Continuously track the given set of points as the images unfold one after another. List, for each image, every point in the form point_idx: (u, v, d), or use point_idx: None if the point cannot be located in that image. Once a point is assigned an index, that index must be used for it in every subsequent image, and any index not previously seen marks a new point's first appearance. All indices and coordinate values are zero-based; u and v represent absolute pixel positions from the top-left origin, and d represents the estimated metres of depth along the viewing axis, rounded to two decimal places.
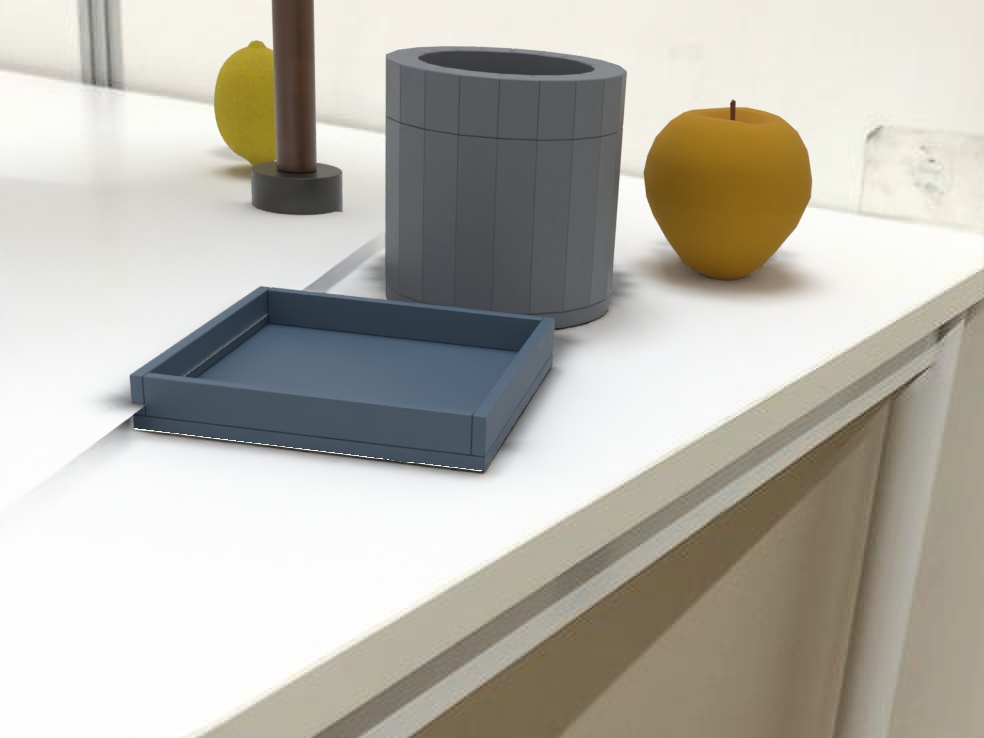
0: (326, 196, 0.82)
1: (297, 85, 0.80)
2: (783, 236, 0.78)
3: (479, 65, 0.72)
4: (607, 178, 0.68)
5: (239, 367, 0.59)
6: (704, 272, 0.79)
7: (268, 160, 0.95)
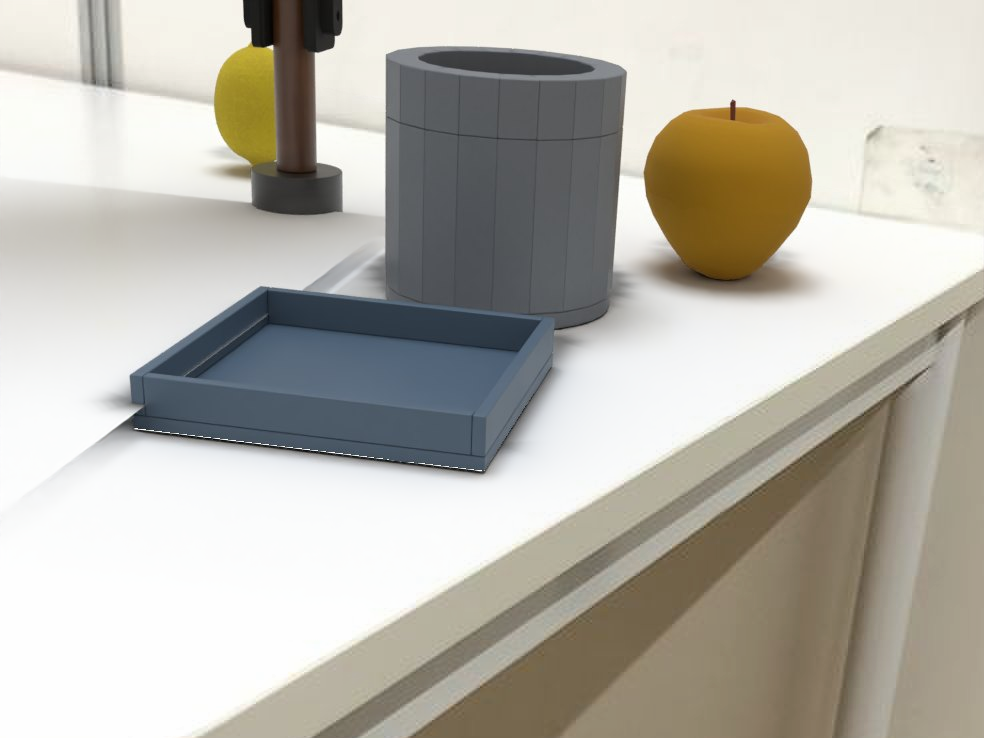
0: (326, 196, 0.82)
1: (297, 85, 0.80)
2: (783, 236, 0.78)
3: (479, 65, 0.72)
4: (607, 178, 0.68)
5: (239, 367, 0.59)
6: (704, 272, 0.79)
7: (268, 160, 0.95)
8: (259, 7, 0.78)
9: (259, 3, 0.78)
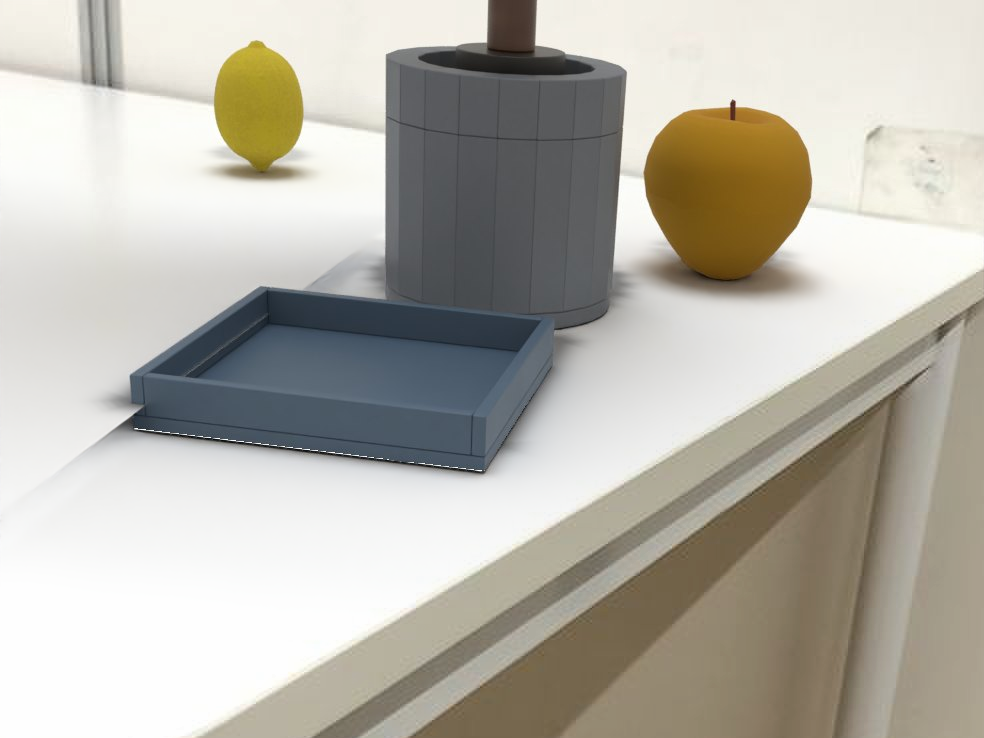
0: None
1: None
2: (783, 236, 0.78)
3: None
4: (607, 178, 0.68)
5: (239, 367, 0.59)
6: (704, 272, 0.79)
7: (268, 160, 0.95)
8: None
9: None
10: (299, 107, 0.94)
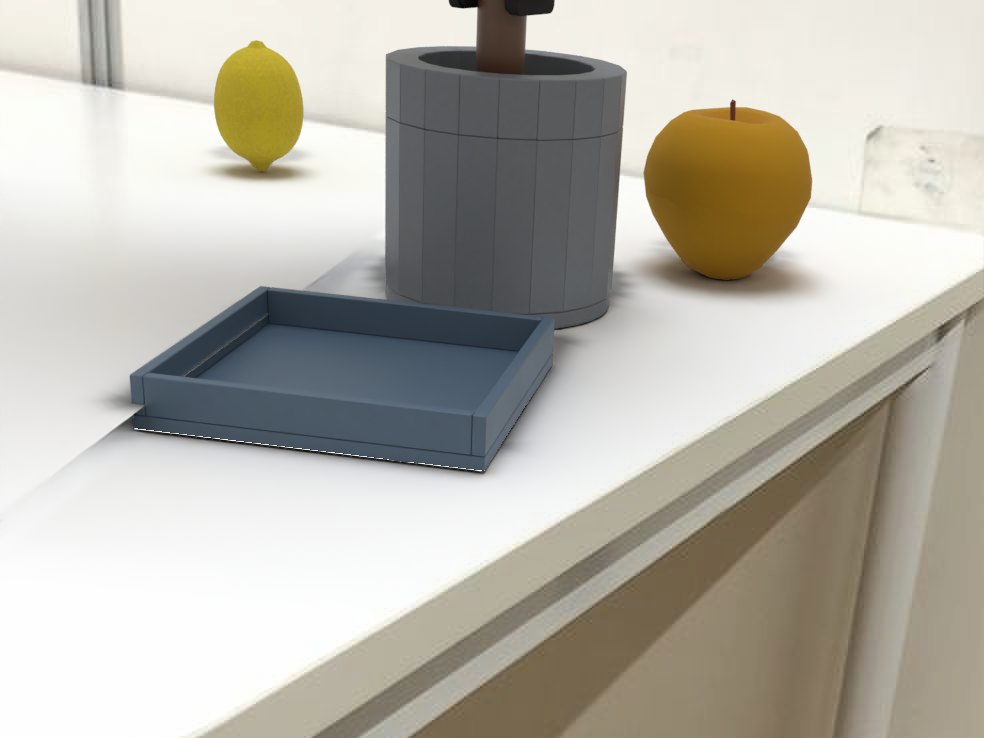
0: None
1: (498, 55, 0.66)
2: (783, 236, 0.78)
3: None
4: (607, 178, 0.68)
5: (239, 367, 0.59)
6: (704, 272, 0.79)
7: (268, 160, 0.95)
8: None
9: None
10: (299, 107, 0.94)
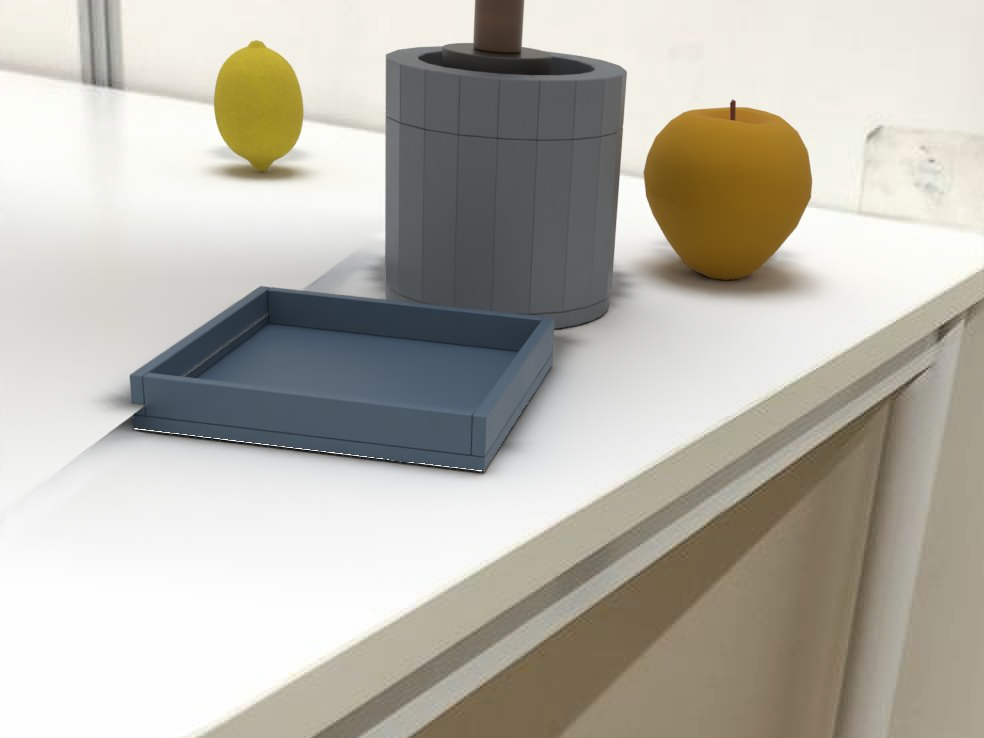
0: None
1: None
2: (783, 236, 0.78)
3: None
4: (607, 178, 0.68)
5: (239, 367, 0.59)
6: (704, 272, 0.79)
7: (268, 160, 0.95)
8: None
9: None
10: (299, 107, 0.94)
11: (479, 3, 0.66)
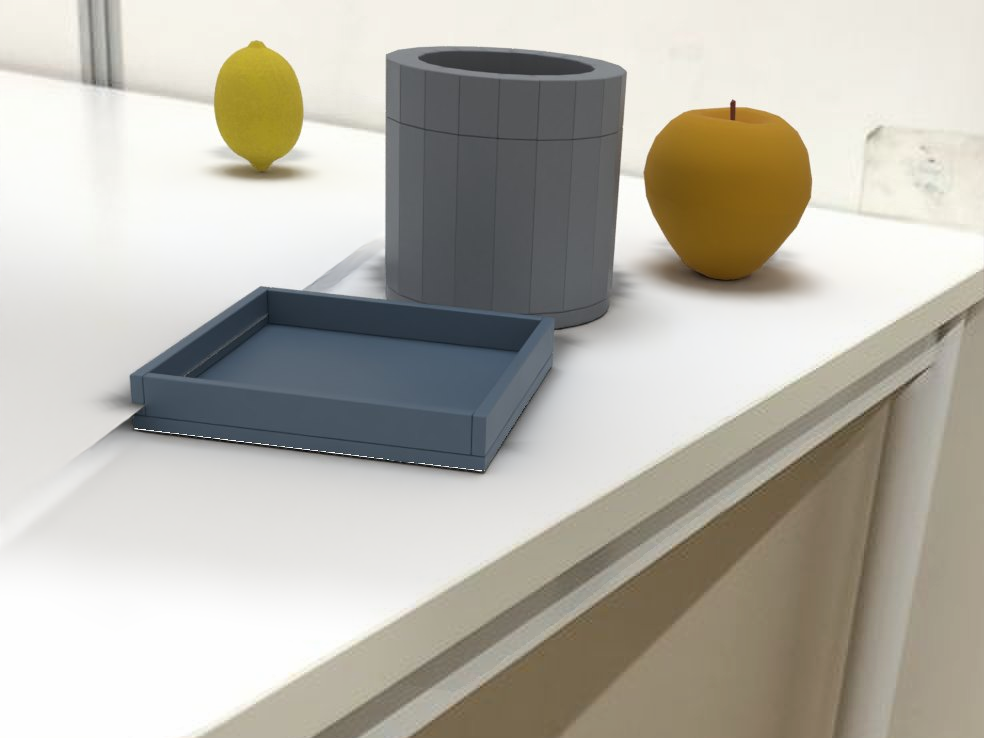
0: None
1: None
2: (783, 236, 0.78)
3: (479, 65, 0.72)
4: (607, 178, 0.68)
5: (239, 367, 0.59)
6: (704, 272, 0.79)
7: (268, 160, 0.95)
8: None
9: None
10: (299, 107, 0.94)
11: None
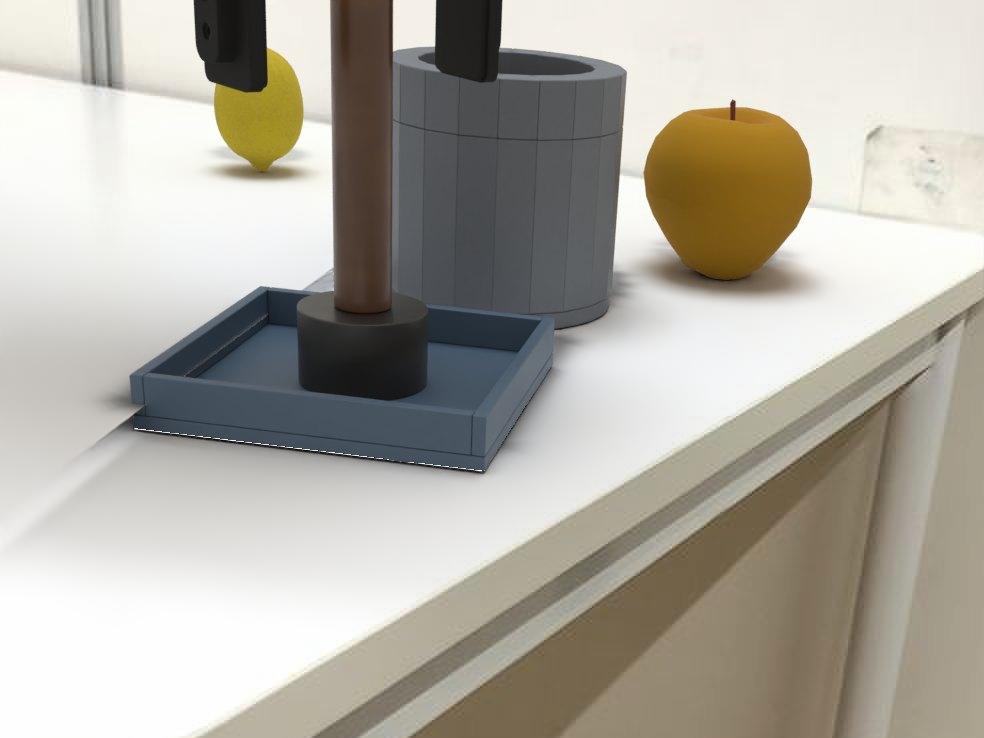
0: None
1: (388, 188, 0.55)
2: (783, 236, 0.78)
3: None
4: (607, 178, 0.68)
5: (239, 367, 0.59)
6: (704, 272, 0.79)
7: (268, 160, 0.95)
8: (261, 29, 0.49)
9: (262, 22, 0.49)
10: (299, 107, 0.94)
11: (337, 258, 0.56)
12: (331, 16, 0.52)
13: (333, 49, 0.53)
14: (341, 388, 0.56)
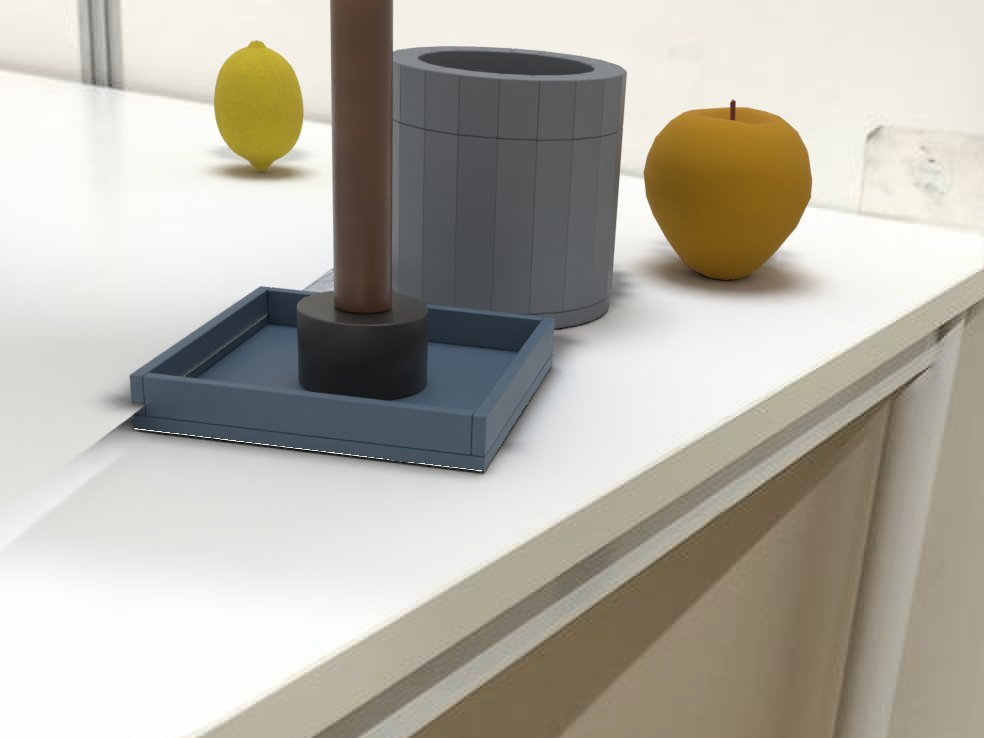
0: None
1: (388, 188, 0.55)
2: (783, 236, 0.78)
3: (479, 65, 0.72)
4: (607, 178, 0.68)
5: (239, 367, 0.59)
6: (704, 272, 0.79)
7: (268, 160, 0.95)
8: None
9: None
10: (299, 107, 0.94)
11: (337, 258, 0.56)
12: (331, 16, 0.52)
13: (333, 49, 0.53)
14: (341, 388, 0.56)
